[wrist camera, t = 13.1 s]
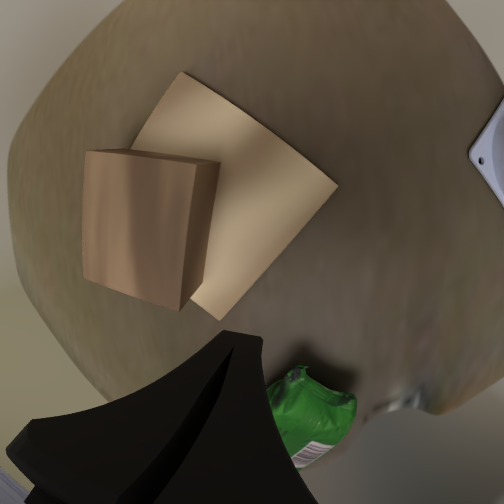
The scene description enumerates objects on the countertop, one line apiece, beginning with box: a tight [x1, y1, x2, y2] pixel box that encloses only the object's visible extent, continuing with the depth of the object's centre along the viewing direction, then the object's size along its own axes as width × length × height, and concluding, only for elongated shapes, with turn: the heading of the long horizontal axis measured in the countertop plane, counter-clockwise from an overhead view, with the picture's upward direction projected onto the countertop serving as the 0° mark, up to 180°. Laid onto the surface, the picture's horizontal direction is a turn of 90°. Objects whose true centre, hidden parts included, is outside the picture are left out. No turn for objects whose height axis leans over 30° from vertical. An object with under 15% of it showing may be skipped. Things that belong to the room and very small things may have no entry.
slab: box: [82, 149, 221, 312], centre depth 17 cm, size 4×8×7 cm
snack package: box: [266, 364, 357, 471], centre depth 21 cm, size 7×16×5 cm, turn 154°
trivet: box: [130, 71, 338, 321], centre depth 18 cm, size 12×12×1 cm
